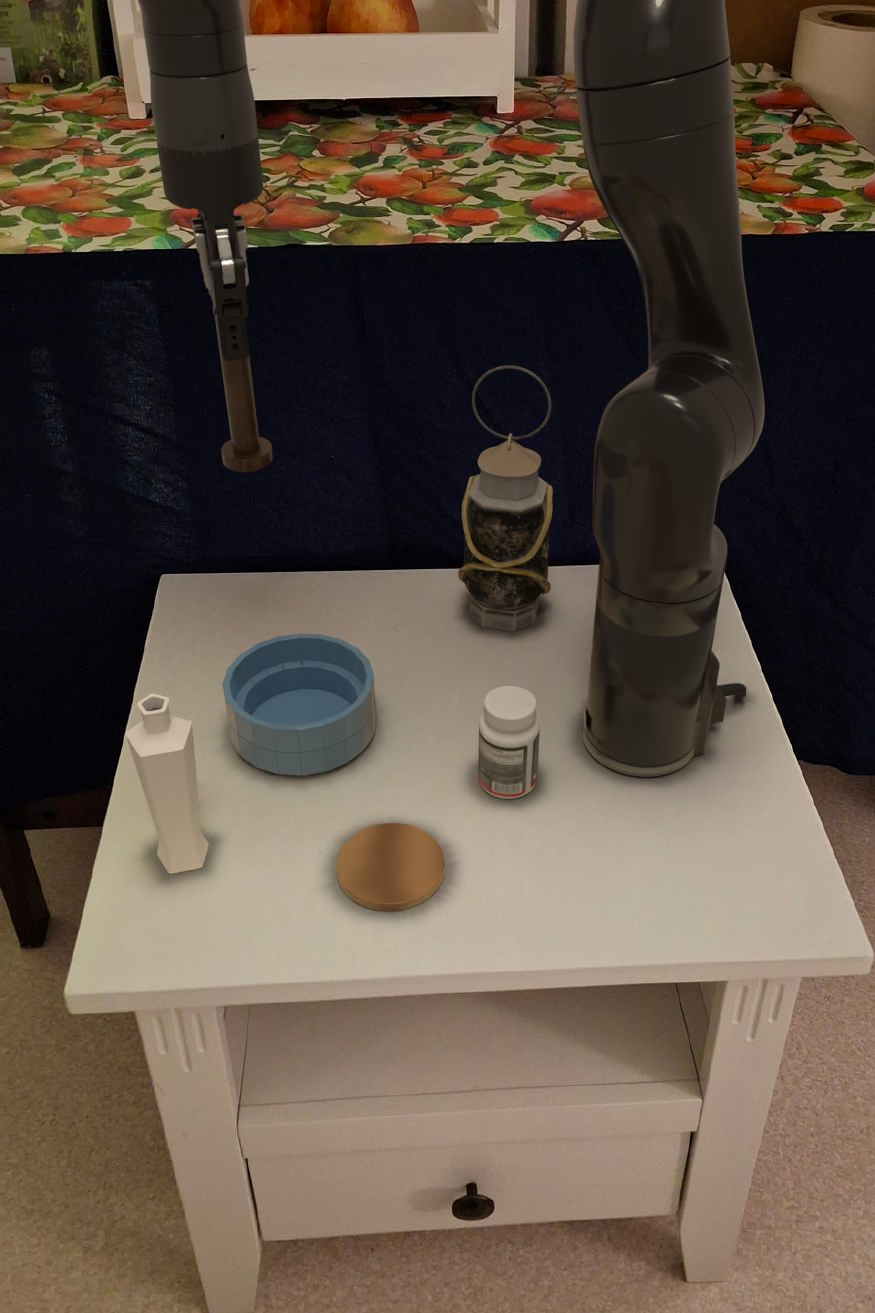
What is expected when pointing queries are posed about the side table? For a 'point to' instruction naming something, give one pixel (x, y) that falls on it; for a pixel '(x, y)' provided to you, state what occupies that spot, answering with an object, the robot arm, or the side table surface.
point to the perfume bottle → (169, 783)
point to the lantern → (506, 531)
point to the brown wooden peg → (242, 417)
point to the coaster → (390, 866)
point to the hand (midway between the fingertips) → (234, 349)
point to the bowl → (300, 703)
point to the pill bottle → (508, 743)
